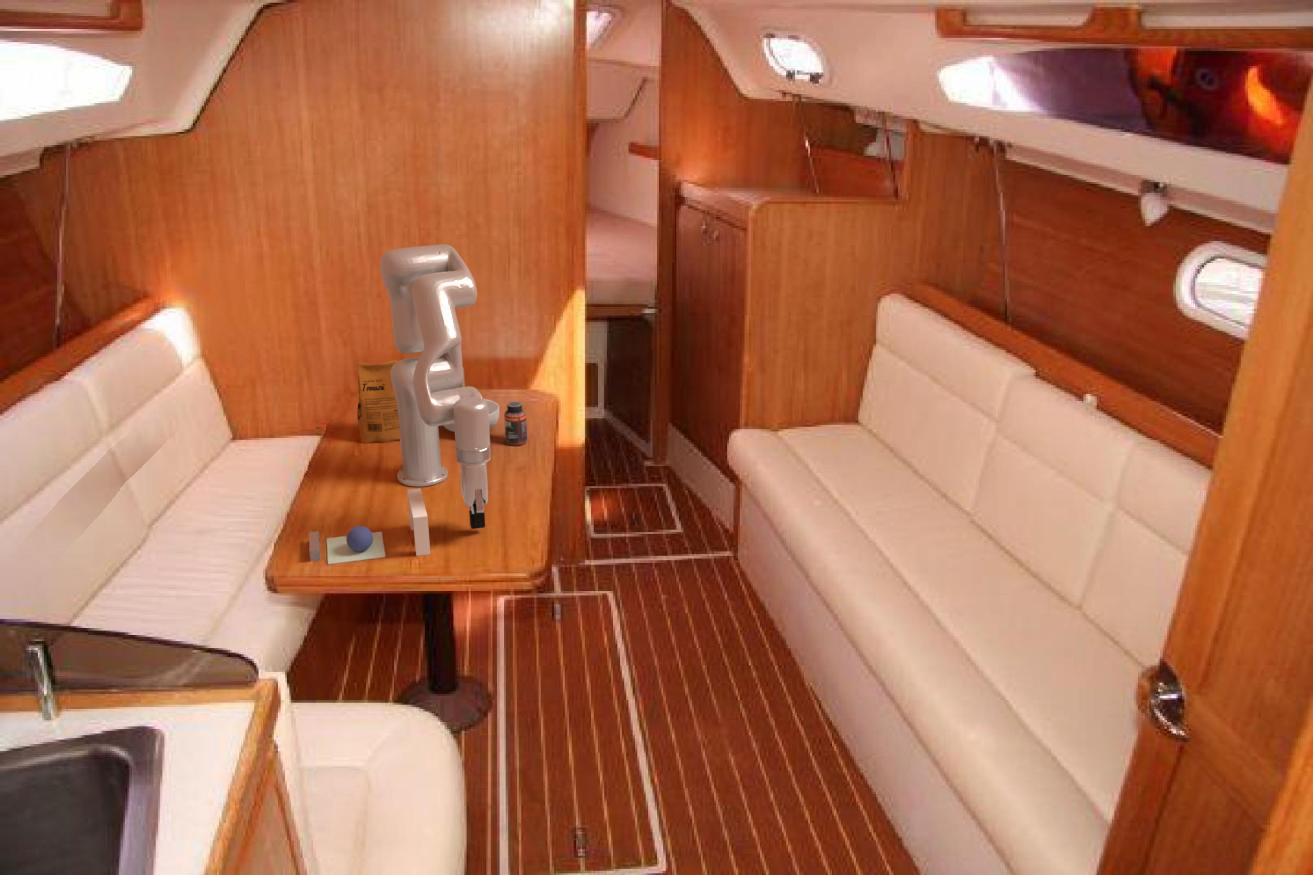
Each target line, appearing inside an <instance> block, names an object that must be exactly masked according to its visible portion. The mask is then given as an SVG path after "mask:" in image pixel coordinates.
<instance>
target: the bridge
mask: <svg viewBox="0 0 1313 875" xmlns="http://www.w3.org/2000/svg"><path fill="white" fill-rule="evenodd" d="M406 492H407V501H408V502H407V504H408V513H409V514H408V515H409V525H410V526H409V528H410V530H411V531H413V534H414V535H413V536H414V547H415V548H414V549H415V556H416V557H418V556H419V557H420V556H429V555H431V546H430V545H431V544H430V532H429V520H428V513H427V510H426V505H425V500H424V496H423V493H422V489H421V488H411V489H407V491H406Z"/></svg>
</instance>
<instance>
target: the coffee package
mask: <svg viewBox="0 0 1313 875" xmlns="http://www.w3.org/2000/svg"><path fill="white" fill-rule="evenodd" d="M398 361H399V360H397V359H393V360H389V361H386V362H381V363H370V362H369V363H368V362H359V361H358V362H357V380H358V382H357V384H358V402H357V410H356V413H357V414H356V415H357V416H356V418H357V423H358V424H357V425H358V429H359V434H360V435H359V436H360V440H361V441H362V442H363V443H364V444H367V443H368V444H370V443H374V442H381V443H390V442H396V441H400V431H399V420H398V410H397V402H396V397H395V393H394V389H393V385H392V381H391V369H392V367H393V365H394V364H395V363H397V362H398Z"/></svg>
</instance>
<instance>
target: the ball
mask: <svg viewBox="0 0 1313 875" xmlns="http://www.w3.org/2000/svg"><path fill="white" fill-rule="evenodd" d="M372 533H373V532H372V531H371V530H370V529H369V528H368V527H366V526H365V525H363V526H362V525H356V526H354V527H352V528H351V529H350V530H348V532H347V533H346V536H347V537H346V541H347V544H348V546H349V547H350V548H351V549H352V550H354V551H358V552H361V551H365V550H367V549H368V548H369V547H370V546H371V544H372V542H373V535H372Z"/></svg>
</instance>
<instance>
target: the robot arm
mask: <svg viewBox="0 0 1313 875" xmlns="http://www.w3.org/2000/svg"><path fill="white" fill-rule="evenodd" d="M379 272H380V277H381V279H382V282H383V285H384V287H385V289H386V291H387V294H388V298H389V303H390V314H391V326H392V336H393V341H394V345H395V347H396V349H397V351H399V353H402V354H407V355H411V354H420V353H421V354H420V355H418V356H413V357H408V358H403V359H401V360H397V361H398V362H397V363H395V364H394V365H393V367H392V369H391V381H392V385H393V389H394V393H395V397H396V402H397V410H398V420H399V431H400V440H399V441H400V450H401V465H402V468H401V469H399V471H398V472H397V475H396V477H397V480H398V482H399V483H400V484H403V485H405V486H410V487H428V486H433V485H434V486H435V485H437V484H439V483H441V482H443V481H444V480H446V479H447V478H448V476H449V471H448V469H447V467H446V466H444V465H443V464H442V461H441V460H442V459H441V447H440V446H441V445H440V432H439V431H440V430H439V431H438V426H439V427H440V426H443V425H445V424H450V423H454V428H455V432H454V441H455V455H456V462H457V463H458V464H460V490H461V495H462V499H463V501H464V505H465V506H466V507H467V508H469V511H468V513H469V525H470V528H471V529H472V530H475V529H483V528H485V527H486V518H485V514H486V513H485V509H484V508H485V506H486V505H487V504H488V503H489V490H488V489H489V487H488V472H487V463H489V461H491V460H492V459H491V458H492V452H491V438H490V437H491V436H490V435H491V434H490V429H489V411H488V404H487V402H486V401H485V400H483V399H484V398H483V396H482V394H481V392H480V391H479V390H478V389H477V388H476V387H474V386H465V387H461V388H458V387H459V386H460V385H461V384H462V380H463V368H464V367H463V353H462V341H463V339H462V332H461V328H460V324H459V320H458V317H457V312H456V309H459V308H461V309H462V308H466V307H471V306H473V305H475V303H476V301H477V298H478V289H477V284H476V281H475V278H474V276H473V274H472V273H471V270H470V269H469V267H468V266H467V264H466V262H465V261H464V260H463V258H462V257H461V256H460V254H459V252H458V251H457V250H456V248H454V247H453V246H452V245H449V244H430V245H421V246H410V247H409V246H408V247H402V248H395V249H391V250H388V251H386V252H384V253H383V254H382V255H381V256H380V260H379ZM484 505H485V506H484Z"/></svg>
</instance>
